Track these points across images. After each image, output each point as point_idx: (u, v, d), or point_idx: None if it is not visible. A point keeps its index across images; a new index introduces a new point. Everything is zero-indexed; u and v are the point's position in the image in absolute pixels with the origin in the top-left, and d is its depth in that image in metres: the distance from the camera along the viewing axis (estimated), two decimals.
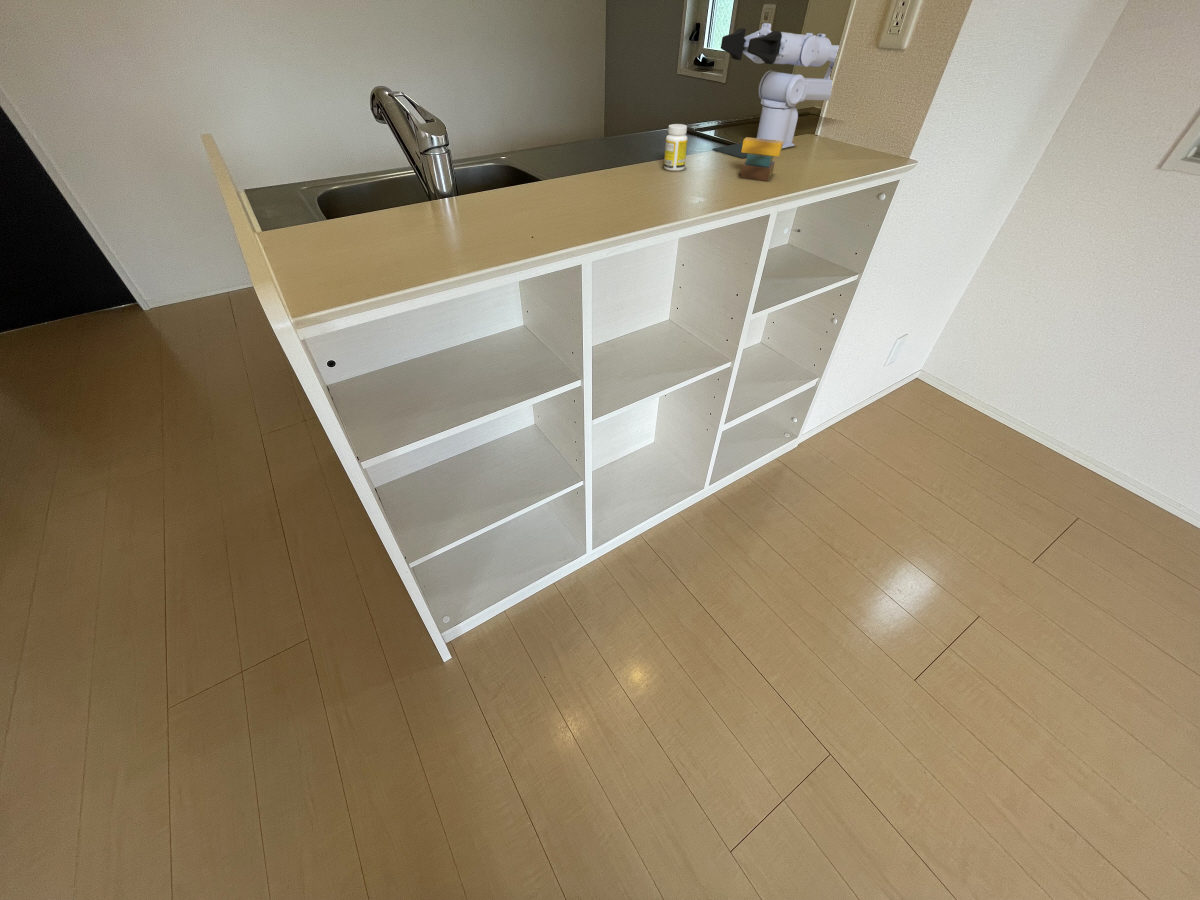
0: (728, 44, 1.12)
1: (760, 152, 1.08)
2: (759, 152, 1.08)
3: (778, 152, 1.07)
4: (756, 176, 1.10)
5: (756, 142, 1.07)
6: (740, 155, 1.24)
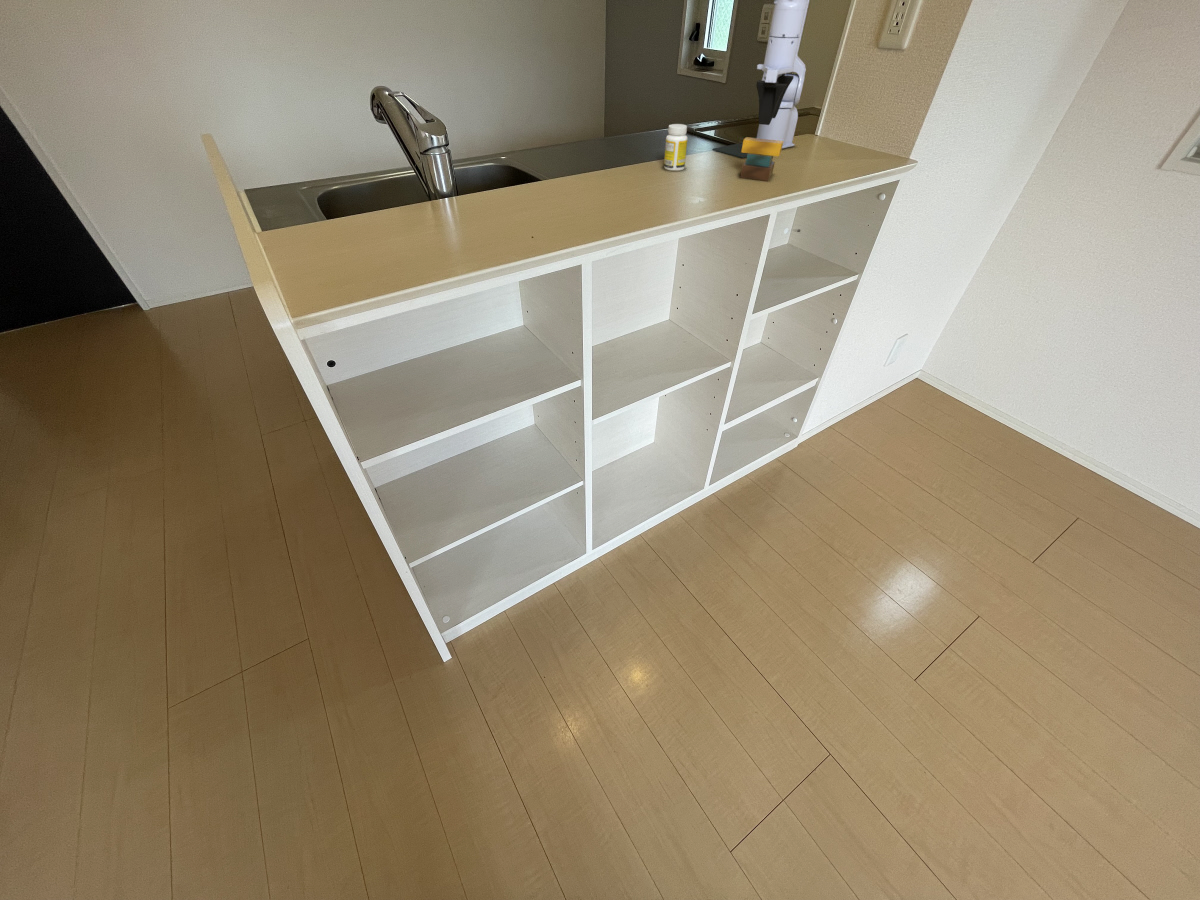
0: None
1: (760, 152, 1.08)
2: (759, 152, 1.08)
3: (778, 152, 1.07)
4: (756, 176, 1.10)
5: (756, 142, 1.07)
6: (740, 155, 1.24)
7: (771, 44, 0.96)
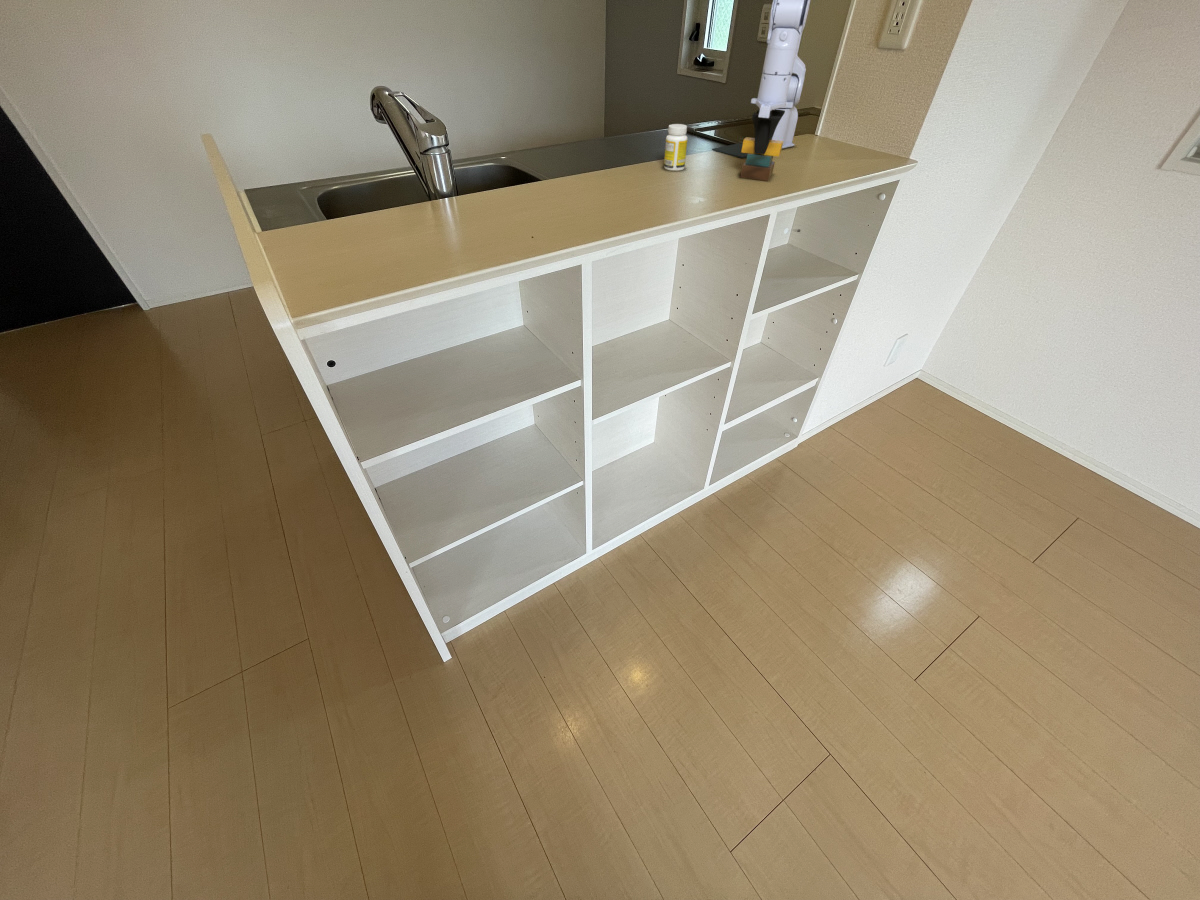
0: None
1: None
2: None
3: (778, 152, 1.07)
4: (756, 176, 1.10)
5: None
6: (740, 155, 1.24)
7: (764, 80, 0.99)
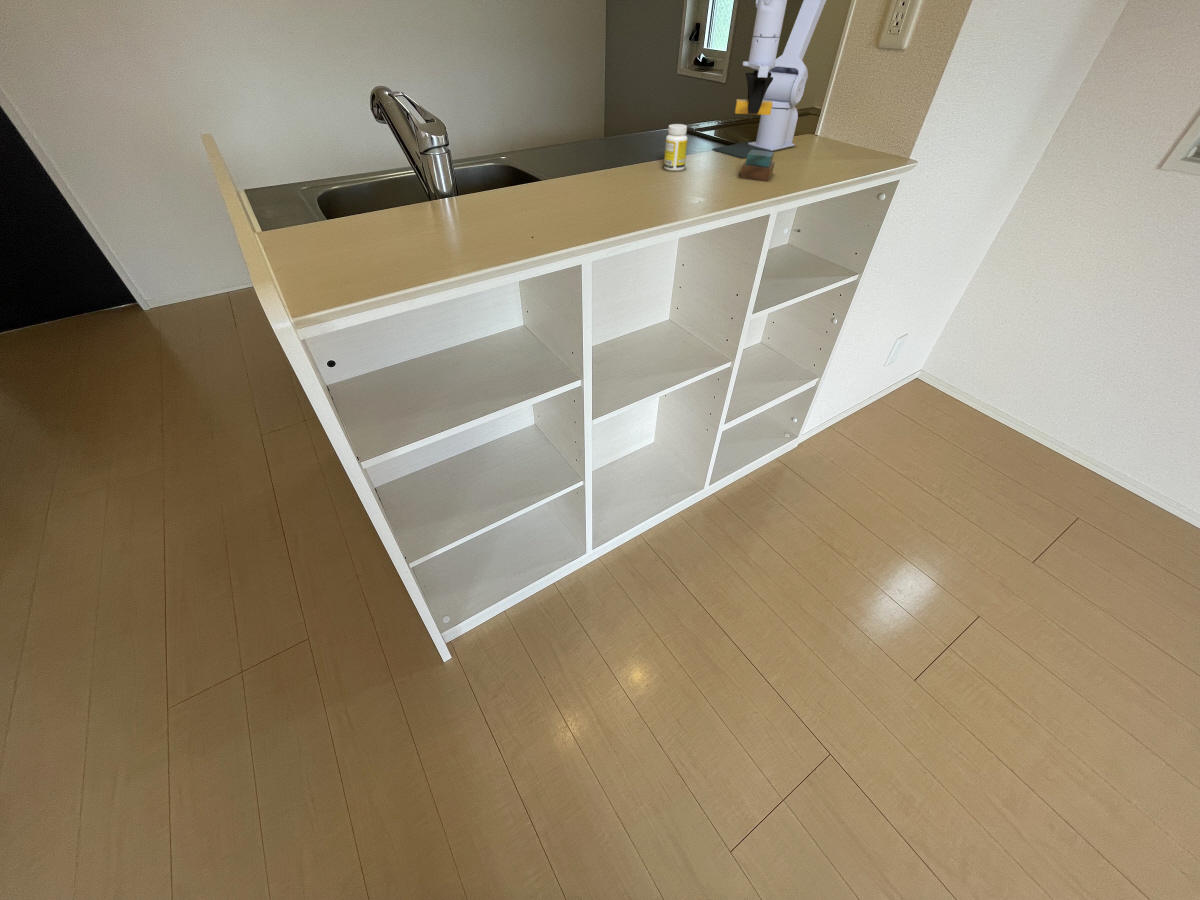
0: None
1: None
2: None
3: (769, 111, 1.16)
4: (756, 176, 1.10)
5: None
6: (740, 155, 1.24)
7: (757, 43, 1.08)
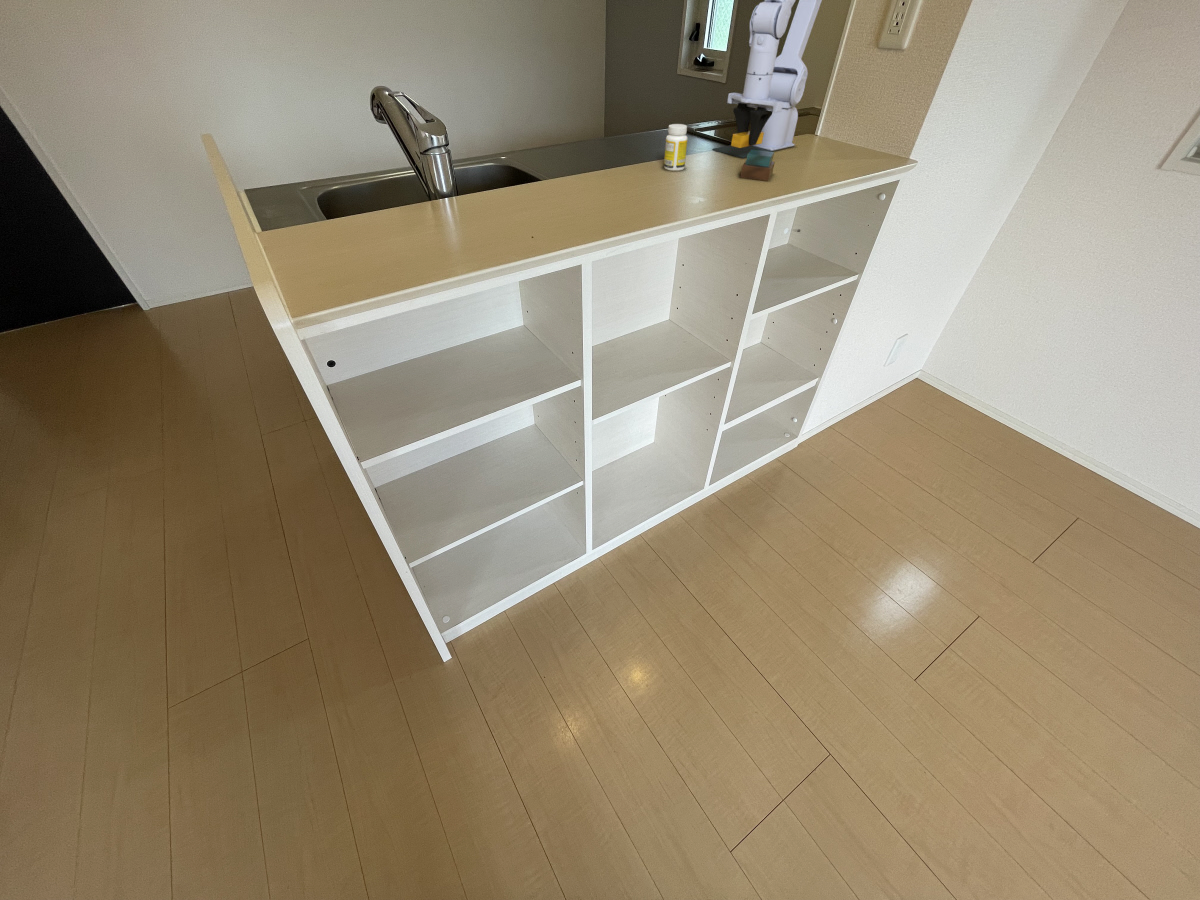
0: None
1: None
2: None
3: (761, 140, 1.23)
4: (756, 176, 1.10)
5: None
6: (740, 155, 1.24)
7: (760, 81, 1.11)
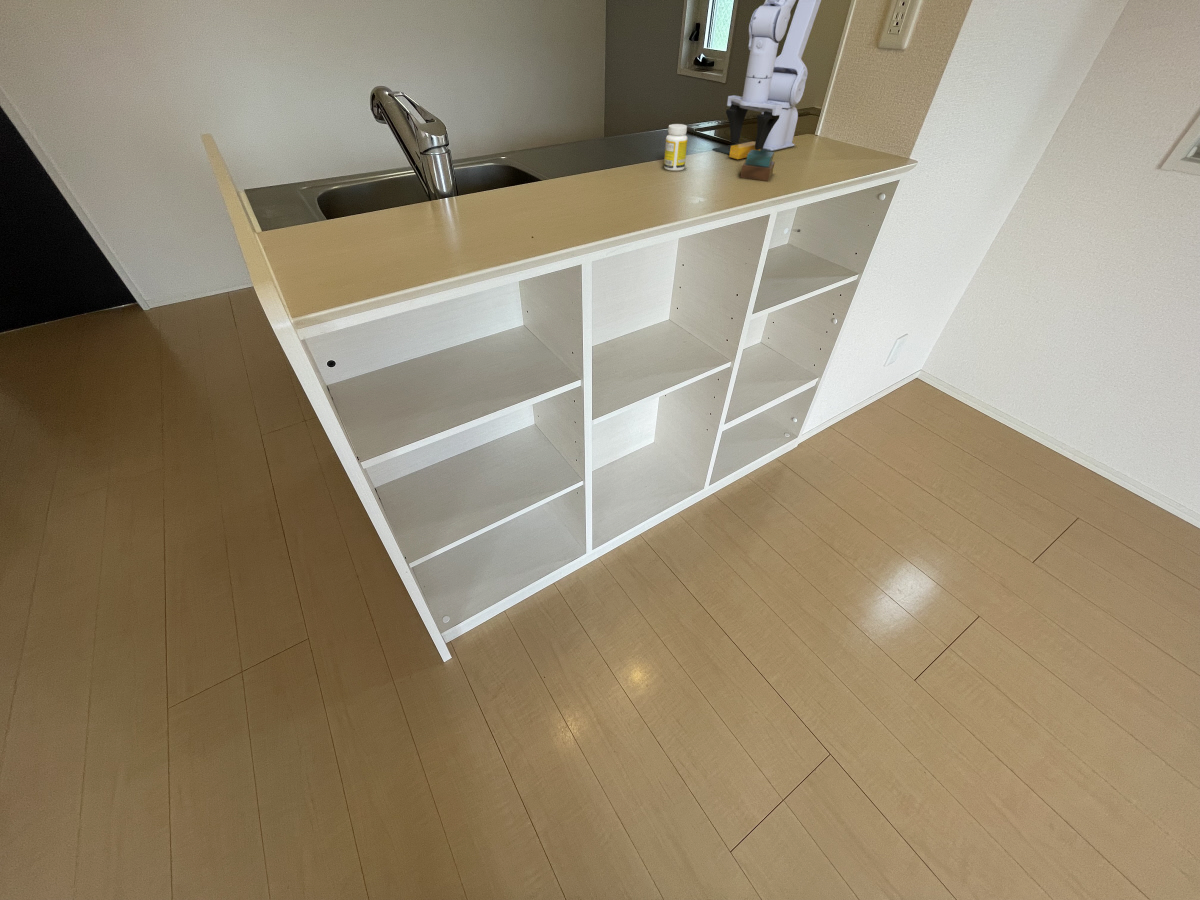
0: (737, 135, 1.23)
1: None
2: None
3: None
4: (756, 176, 1.10)
5: (747, 147, 1.21)
6: None
7: (760, 84, 1.12)
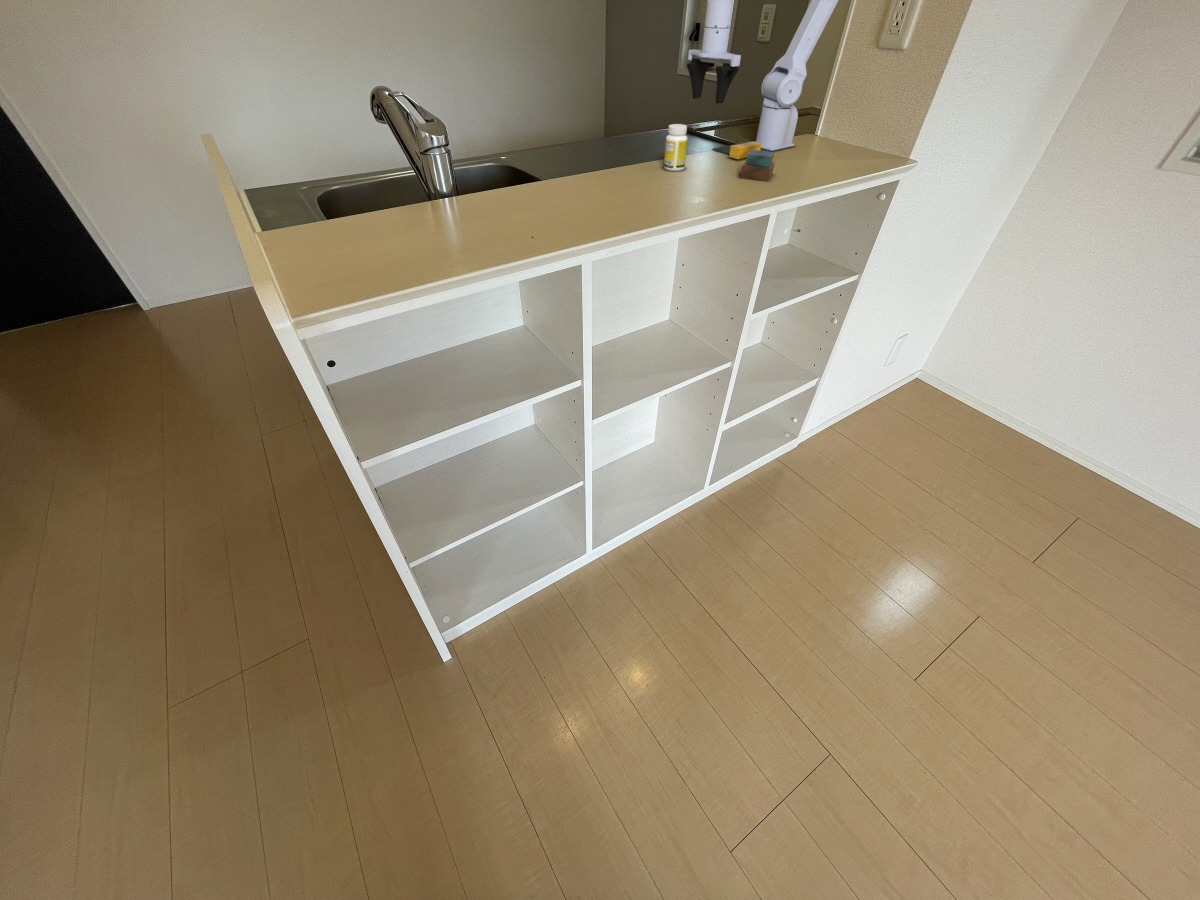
0: (698, 90, 1.23)
1: None
2: None
3: None
4: (756, 176, 1.10)
5: (747, 147, 1.21)
6: None
7: (718, 34, 1.11)
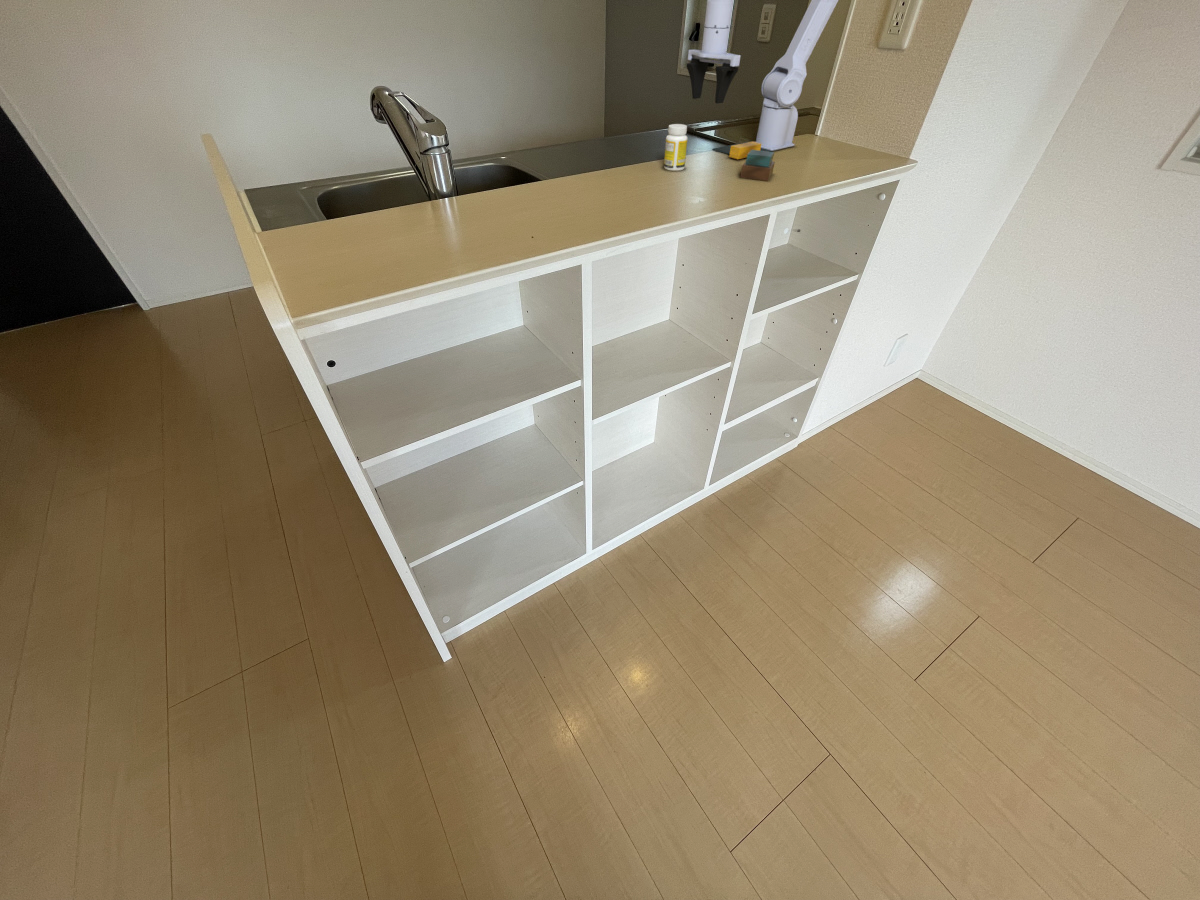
0: (698, 90, 1.23)
1: None
2: None
3: None
4: (756, 176, 1.10)
5: (747, 147, 1.21)
6: None
7: (717, 34, 1.11)
